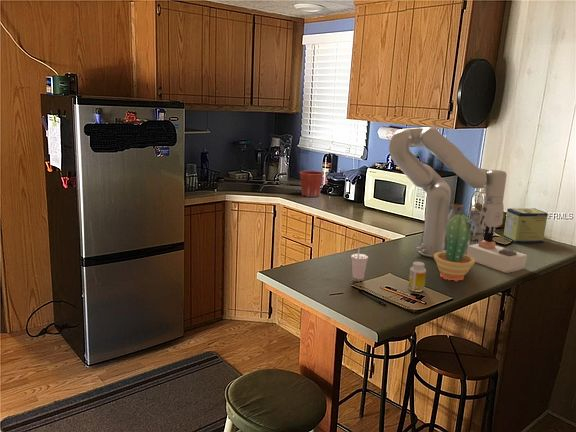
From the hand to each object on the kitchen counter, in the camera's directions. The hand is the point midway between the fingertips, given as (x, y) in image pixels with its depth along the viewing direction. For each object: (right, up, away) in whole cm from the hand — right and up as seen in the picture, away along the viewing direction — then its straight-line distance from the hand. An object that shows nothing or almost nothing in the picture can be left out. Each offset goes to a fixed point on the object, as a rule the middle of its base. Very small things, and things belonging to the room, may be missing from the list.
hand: (487, 241), depth 210 cm
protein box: (+32, -2, +35) cm, 47 cm away
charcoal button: (+5, -9, -6) cm, 12 cm away
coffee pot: (+2, +3, +49) cm, 49 cm away
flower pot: (-71, +25, +126) cm, 147 cm away
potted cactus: (-22, -13, -19) cm, 32 cm away
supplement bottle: (-40, -16, -34) cm, 55 cm away
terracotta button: (0, -6, +2) cm, 6 cm away
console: (+2, -10, -2) cm, 10 cm away
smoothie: (-60, -14, -27) cm, 67 cm away
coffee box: (+3, -3, +24) cm, 24 cm away
